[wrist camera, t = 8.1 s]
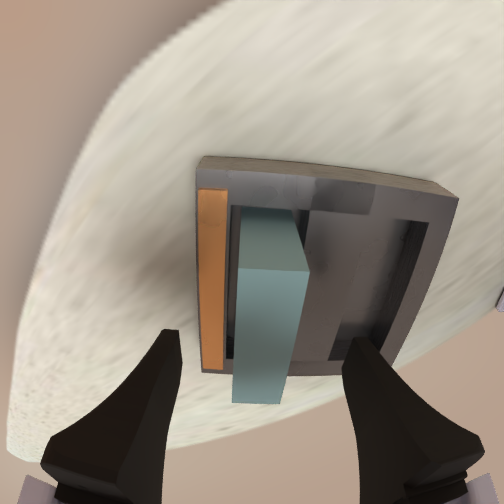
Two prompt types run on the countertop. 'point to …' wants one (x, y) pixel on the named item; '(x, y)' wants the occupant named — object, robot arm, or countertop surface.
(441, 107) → the countertop surface
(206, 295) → the panel rack
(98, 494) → the robot arm
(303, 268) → the panel
